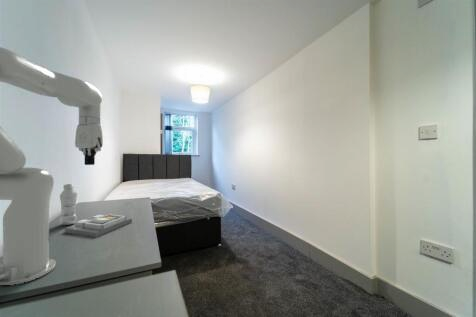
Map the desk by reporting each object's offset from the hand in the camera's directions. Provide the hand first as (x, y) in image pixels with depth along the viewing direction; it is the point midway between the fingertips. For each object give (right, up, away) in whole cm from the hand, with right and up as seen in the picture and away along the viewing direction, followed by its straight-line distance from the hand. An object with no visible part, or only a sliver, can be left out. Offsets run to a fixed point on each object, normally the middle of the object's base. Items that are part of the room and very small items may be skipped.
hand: (89, 164), depth 87 cm
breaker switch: (0, -27, +11) cm, 29 cm away
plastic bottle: (-21, -31, +14) cm, 40 cm away
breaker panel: (-3, -31, +12) cm, 33 cm away
